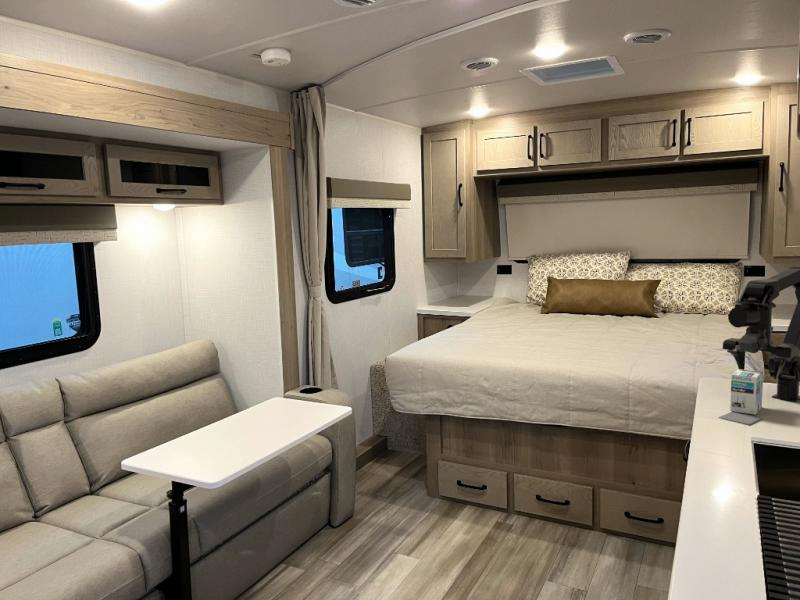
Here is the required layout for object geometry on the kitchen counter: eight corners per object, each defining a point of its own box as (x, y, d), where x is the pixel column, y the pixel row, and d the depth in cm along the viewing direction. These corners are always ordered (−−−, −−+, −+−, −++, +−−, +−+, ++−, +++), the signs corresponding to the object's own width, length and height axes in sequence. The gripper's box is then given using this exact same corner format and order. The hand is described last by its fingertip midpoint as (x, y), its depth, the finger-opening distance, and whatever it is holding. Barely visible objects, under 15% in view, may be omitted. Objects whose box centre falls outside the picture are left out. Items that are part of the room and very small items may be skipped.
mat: (732, 412, 173) (732, 411, 173) (762, 419, 167) (762, 417, 167) (718, 418, 168) (718, 417, 168) (748, 425, 162) (748, 423, 162)
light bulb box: (756, 415, 169) (757, 377, 168) (729, 411, 173) (730, 374, 172) (762, 407, 177) (764, 371, 176) (736, 404, 181) (737, 368, 180)
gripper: (713, 324, 179) (712, 375, 181) (783, 331, 164) (781, 387, 166) (732, 319, 185) (730, 369, 187) (800, 325, 170) (798, 380, 172)
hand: (758, 376), depth 178 cm, fingers open, 9 cm apart
